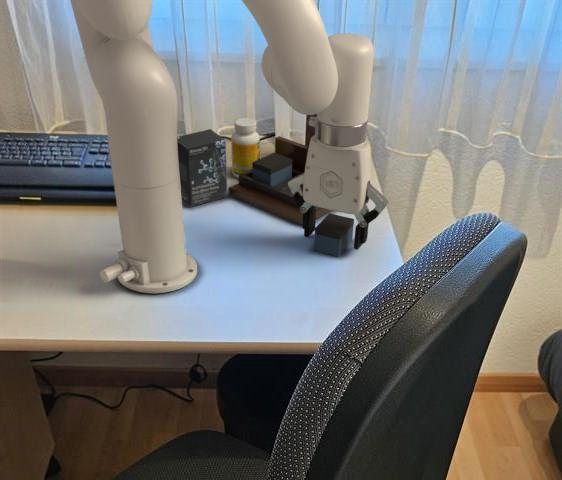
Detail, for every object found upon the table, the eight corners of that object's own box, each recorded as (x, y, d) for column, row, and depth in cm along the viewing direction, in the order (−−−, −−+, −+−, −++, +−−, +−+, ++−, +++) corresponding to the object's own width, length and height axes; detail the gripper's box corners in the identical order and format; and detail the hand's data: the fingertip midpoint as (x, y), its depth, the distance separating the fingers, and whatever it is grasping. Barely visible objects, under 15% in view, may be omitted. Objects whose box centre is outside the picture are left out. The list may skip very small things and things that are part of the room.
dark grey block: (270, 191, 137) (270, 169, 134) (252, 184, 139) (252, 162, 136) (291, 181, 140) (292, 159, 137) (273, 174, 142) (273, 152, 139)
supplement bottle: (230, 169, 147) (228, 117, 140) (256, 167, 148) (256, 115, 141) (234, 180, 143) (233, 128, 136) (262, 178, 144) (262, 126, 137)
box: (190, 208, 135) (186, 147, 127) (175, 196, 138) (170, 136, 130) (228, 198, 138) (226, 138, 130) (213, 186, 141) (210, 127, 133)
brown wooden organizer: (304, 226, 131) (305, 188, 126) (228, 195, 139) (227, 158, 134) (352, 200, 138) (355, 163, 133) (278, 172, 146) (279, 135, 141)
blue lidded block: (338, 257, 124) (340, 234, 121) (313, 250, 125) (314, 227, 122) (352, 241, 127) (354, 218, 125) (327, 235, 129) (329, 212, 126)
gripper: (278, 128, 113) (277, 237, 126) (387, 150, 108) (374, 261, 121) (299, 112, 118) (296, 219, 130) (404, 132, 113) (390, 241, 125)
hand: (334, 239), depth 125 cm, fingers open, 8 cm apart
